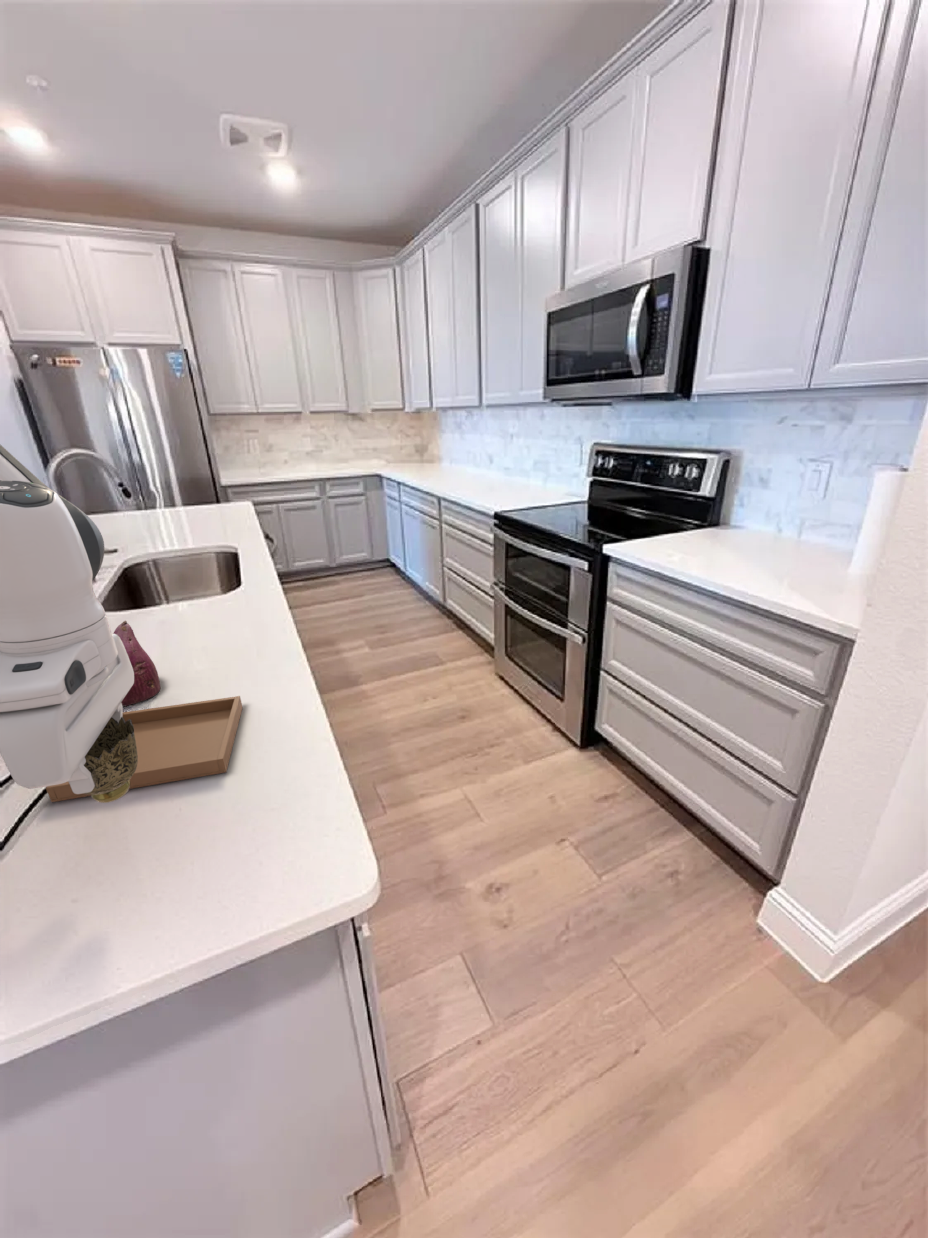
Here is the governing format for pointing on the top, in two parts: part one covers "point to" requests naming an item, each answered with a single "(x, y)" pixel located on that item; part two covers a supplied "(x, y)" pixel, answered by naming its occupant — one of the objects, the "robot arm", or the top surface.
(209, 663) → the top surface
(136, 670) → the vegetable
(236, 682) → the top surface
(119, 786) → the cup
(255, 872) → the top surface
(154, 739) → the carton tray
